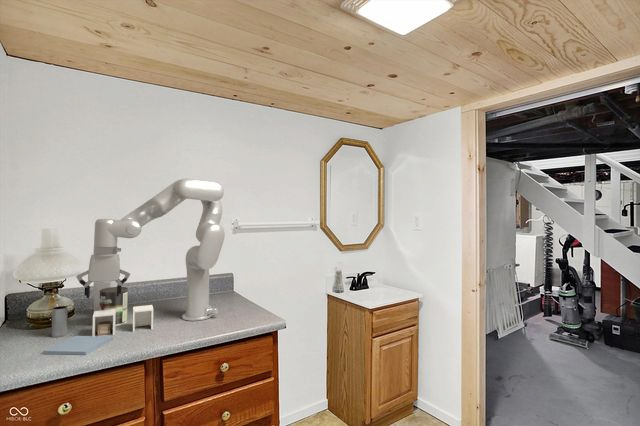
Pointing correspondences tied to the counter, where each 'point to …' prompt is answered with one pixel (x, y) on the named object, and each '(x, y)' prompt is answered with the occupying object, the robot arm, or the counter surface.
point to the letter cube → (104, 328)
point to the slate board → (78, 345)
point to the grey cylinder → (59, 321)
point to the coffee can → (115, 303)
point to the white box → (104, 319)
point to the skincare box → (97, 288)
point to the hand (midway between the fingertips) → (103, 296)
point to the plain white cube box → (142, 316)
